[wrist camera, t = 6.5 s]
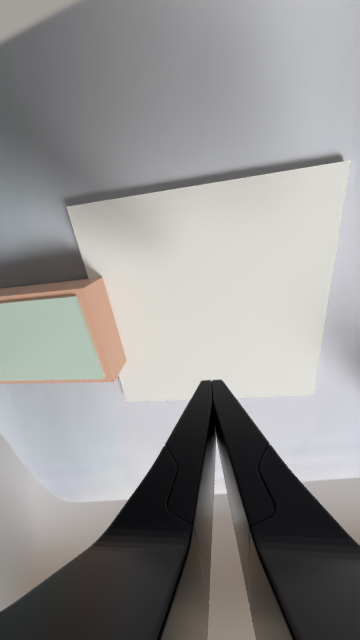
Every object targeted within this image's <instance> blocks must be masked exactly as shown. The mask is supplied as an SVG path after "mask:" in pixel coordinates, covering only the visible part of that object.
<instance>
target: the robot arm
mask: <svg viewBox="0 0 360 640" xmlns="http://www.w3.org/2000/svg"><path fill="white" fill-rule="evenodd" d="M215 428H216V429H215ZM216 437H217V443H218V449H219V454H220V459H221V464H222V469H223V474H224V479H225V484H226V489H227V494H228V499H229V504H230V509H231V515H232V520H233V525H234V529H235V535H236V539H237V545H238V550H239V554H240V560H241V565H242V570H243V575H244V580H245V586H246V590H247V596H248V600H249V604H250V611H251V616H252V621H253V626H254V631H255V636H256V640H360V545H359V544H358V543H357V542H356V541H355V540H353V538H352V537H351V536H350V535H349V534H348V533H347V532H346V531H345V530H344V529H343V528H342V527H341V526H340V525H339V523H338V522H337V521H336V520H335V519H334V518H333V517H332V516H331V515H330V514H329V513H328V511H327V510H326V509H325V508H324V507H323V506H322V505H321V504H320V503H319V502H318V500H317V499H316V498H315V497H314V496H313V495H312V494H311V493H310V492H309V491H308V490H307V488H306V487H304V485H303V484H302V483H301V482H300V481H299V479H298V478H297V477H296V476H295V475H294V474H293V473H292V471H291V470H290V469H289V468H288V467H287V465H286V464H285V463H284V462H283V460H282V459H281V458H280V456H279V455H278V454H277V453H276V451H275V450H274V448H273V447H272V446H271V445H269V442H268V441H267V439H266V438H265V437H264V435H263V434H262V433H261V431H260V430H259V429H258V427H257V426H256V425H255V423H254V422H253V420H252V419H251V418H250V416H249V415H248V414H247V412H246V411H245V410H244V408H243V407H242V406H241V404H240V403H239V402H238V400H237V399H236V398H235V396H234V395H233V394H232V392H231V391H230V390H229V388H228V387H227V386H226V384H225V383H224V382H223V380H221V379H219V380H212V381H211V380H202V381H201V382H200V384H199V386H198V387H197V389H196V391H195V393H194V394H193V396H192V398H191V400H190V401H189V403H188V405H187V407H186V408H185V410H184V412H183V414H182V415H181V417H180V419H179V421H178V422H177V424H176V426H175V428H174V430H173V431H172V433H171V435H170V437H169V438H168V440H167V442H166V444H165V446H164V447H163V449H162V450H161V452H160V454H159V456H158V457H157V459H156V461H155V462H154V464H153V466H152V467H151V469H150V470H149V472H148V473H147V475H146V476H145V478H144V479H143V480H142V482H141V483H140V485H139V486H138V487H137V489H136V490H135V492H134V493H133V494H132V496H131V497H130V499H129V500H128V501H127V503H126V504H125V506H124V507H123V508H122V510H121V511H120V512H119V514H118V515H117V516H116V518H115V519H114V521H113V522H112V523H111V525H110V526H109V527H108V529H107V530H106V531H105V532H104V533H103V534H102V536H101V537H100V538H99V539H98V540H97V541H96V542H95V543H94V544H92V545H91V546H90V547H89V548H88V549H87V550H85V551H84V552H82V553H81V554H80V555H78V556H77V557H76V558H74V559H73V560H72V561H70V562H69V563H67V564H66V565H65V566H63V567H62V568H61V569H59V570H58V571H57V572H55V573H54V574H52V576H50V577H48V578H47V579H46V580H44V581H43V582H42V583H40V584H39V585H38V586H36V587H35V588H33V589H32V590H31V591H29V592H28V593H27V594H25V595H24V596H23V597H21V598H20V599H19V600H17V601H16V602H14V603H13V604H11V605H10V606H8V607H7V608H5V609H4V610H2V611H0V640H207V637H208V614H209V591H210V567H211V543H212V520H213V499H214V476H215V453H216Z"/></svg>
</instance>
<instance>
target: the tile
mask: <svg viewBox="0 0 360 640" xmlns="http://www.w3.org/2000/svg"><path fill="white" fill-rule="evenodd" d="M126 361H127V360H126V357H125V353H124V350H123V347H122V343H121V340H120V336H119V333H118V329H117V326H116V322H115V319H114V315H113V312H112V308H111V305H110V301H109V298H108V294H107V291H106V287H105V284H104V281H103V277H100V278H91V279H82V280H73V281H64V282H55V283H46V284H37V285H28V286H18V287H9V288H0V383H60V382H114V381H115V380H116V378H117V376H118V375H119V373H120V371H121V370H122V368H123V366H124V365H125V363H126Z"/></svg>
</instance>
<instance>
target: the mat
mask: <svg viewBox="0 0 360 640" xmlns="http://www.w3.org/2000/svg"><path fill="white" fill-rule="evenodd" d="M350 161H351V160H349V161H343V162H337V163H331V164H325V165H318V166H312V167H306V168H300V169H294V170H288V171H282V172H276V173H269V174H263V175H257V176H251V177H245V178H239V179H233V180H227V181H220V182H214V183H208V184H202V185H196V186H190V187H184V188H178V189H171V190H165V191H159V192H153V193H147V194H141V195H135V196H128V197H122V198H116V199H110V200H104V201H98V202H92V203H86V204H79V205H73V206H67V207H66V208H67V211H68V214H69V217H70V221H71V224H72V227H73V230H74V233H75V237H76V240H77V243H78V246H79V250H80V253H81V256H82V259H83V263H84V266H85V269H86V272H87V275H88V279H91V278H100V277H103V281H104V284H105V287H106V291H107V294H108V298H109V301H110V305H111V308H112V312H113V315H114V319H115V322H116V326H117V329H118V333H119V336H120V340H121V343H122V347H123V350H124V353H125V357H126V360H127V361H126V363H125V365H124V366H123V368H122V370H121V371H120V373H119V375H118V376H119V379H120V382H121V385H122V389H123V392H124V395H125V398H126V402H134V401H161V400H189V399H191V398H192V396H193V394H194V393H195V391H196V389H197V387H198V386H199V384H200V382H201V381H202V380H211V381H212V380H219V379H221V380H223V382H224V383H225V384H226V386H227V387H228V388H229V390H230V391H231V392H232V394H233V395H234V396H235V398H244V397H272V396H299V395H314V389H315V382H316V376H317V370H318V363H319V357H320V351H321V344H322V338H323V332H324V325H325V319H326V313H327V306H328V300H329V294H330V288H331V281H332V275H333V269H334V262H335V256H336V250H337V243H338V237H339V231H340V224H341V218H342V212H343V206H344V199H345V193H346V187H347V180H348V174H349V168H350Z"/></svg>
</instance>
